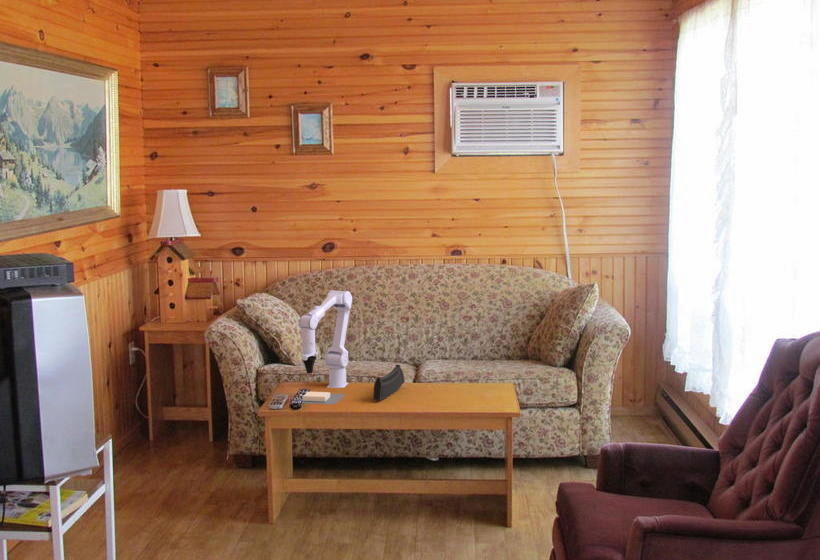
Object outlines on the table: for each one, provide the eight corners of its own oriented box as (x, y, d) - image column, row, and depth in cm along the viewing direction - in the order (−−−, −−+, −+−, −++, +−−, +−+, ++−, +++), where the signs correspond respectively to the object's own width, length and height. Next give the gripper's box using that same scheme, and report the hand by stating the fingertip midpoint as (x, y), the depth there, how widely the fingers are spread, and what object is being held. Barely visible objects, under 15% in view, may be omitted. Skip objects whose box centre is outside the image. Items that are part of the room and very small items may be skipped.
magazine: (377, 384, 388) (400, 350, 413) (370, 383, 389) (394, 350, 414) (382, 418, 394) (405, 383, 420) (375, 418, 395) (398, 383, 421)
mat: (302, 393, 410) (302, 392, 409) (345, 394, 406) (345, 394, 406) (289, 403, 392) (289, 402, 392) (334, 405, 388) (334, 404, 388)
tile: (308, 391, 401) (302, 396, 393) (330, 392, 399) (325, 396, 391) (308, 396, 401) (302, 401, 394) (330, 397, 400) (325, 402, 392)
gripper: (312, 346, 394) (313, 377, 396) (322, 339, 408) (322, 369, 410) (297, 345, 395) (298, 376, 397) (306, 339, 409) (307, 369, 411)
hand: (309, 373), depth 403 cm, fingers closed
